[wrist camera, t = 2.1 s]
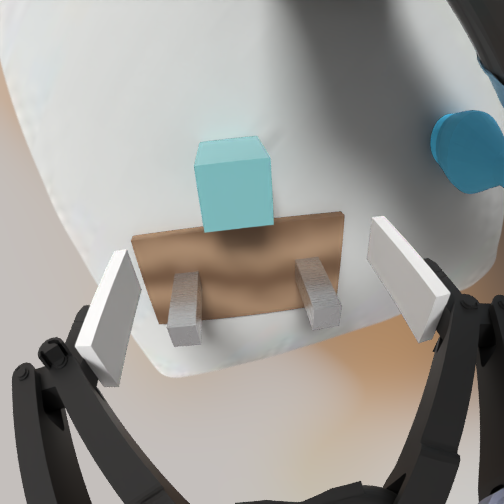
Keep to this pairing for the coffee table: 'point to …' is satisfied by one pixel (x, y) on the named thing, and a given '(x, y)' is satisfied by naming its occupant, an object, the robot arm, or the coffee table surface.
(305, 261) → the post
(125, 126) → the coffee table surface
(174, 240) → the board
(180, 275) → the post
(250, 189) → the teal rectangular prism
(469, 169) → the perfume bottle
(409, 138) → the coffee table surface
